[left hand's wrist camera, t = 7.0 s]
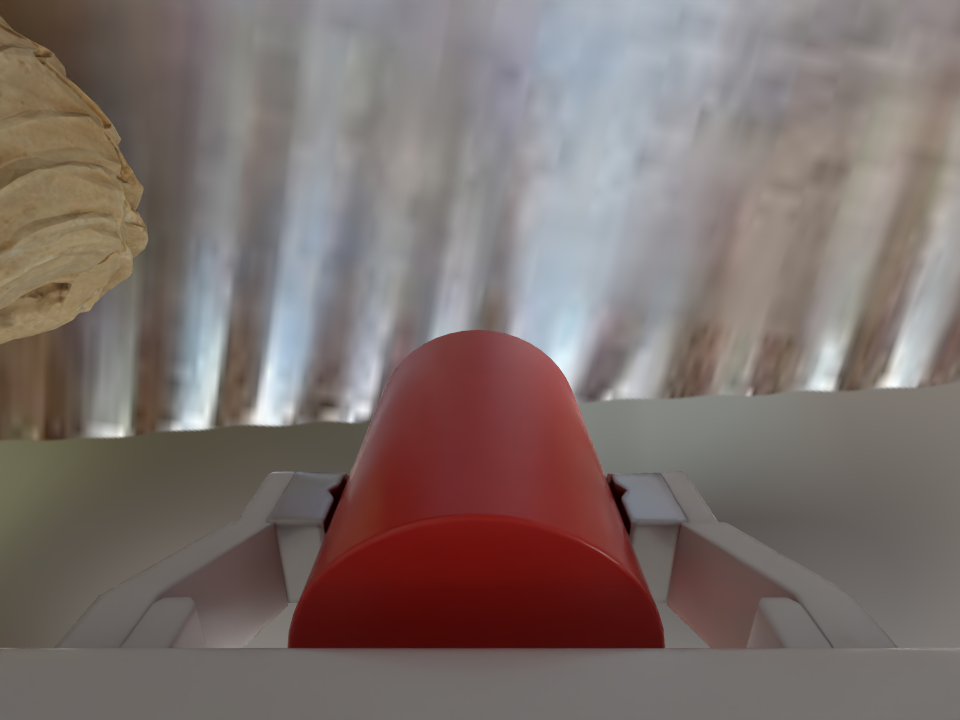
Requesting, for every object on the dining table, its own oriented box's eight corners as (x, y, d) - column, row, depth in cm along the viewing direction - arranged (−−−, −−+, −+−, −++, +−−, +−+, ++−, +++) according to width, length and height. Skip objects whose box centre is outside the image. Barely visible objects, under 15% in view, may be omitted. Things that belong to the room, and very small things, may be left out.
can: (456, 287, 12) (429, 440, 6) (617, 405, 14) (748, 644, 7) (342, 439, 14) (217, 698, 7) (495, 533, 15) (508, 830, 9)
